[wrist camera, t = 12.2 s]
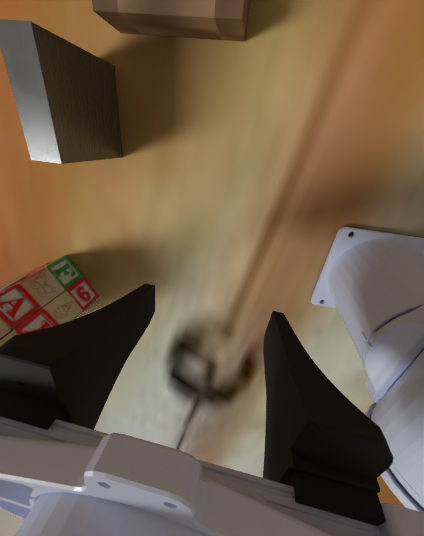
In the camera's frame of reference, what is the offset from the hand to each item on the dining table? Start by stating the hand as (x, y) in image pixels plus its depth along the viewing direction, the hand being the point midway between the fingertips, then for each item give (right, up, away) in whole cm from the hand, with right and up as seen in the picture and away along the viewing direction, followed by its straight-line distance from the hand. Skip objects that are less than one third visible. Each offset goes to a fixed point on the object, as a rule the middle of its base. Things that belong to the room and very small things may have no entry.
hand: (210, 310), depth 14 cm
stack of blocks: (-24, -1, +17) cm, 30 cm away
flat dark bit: (-8, +15, +4) cm, 18 cm away
